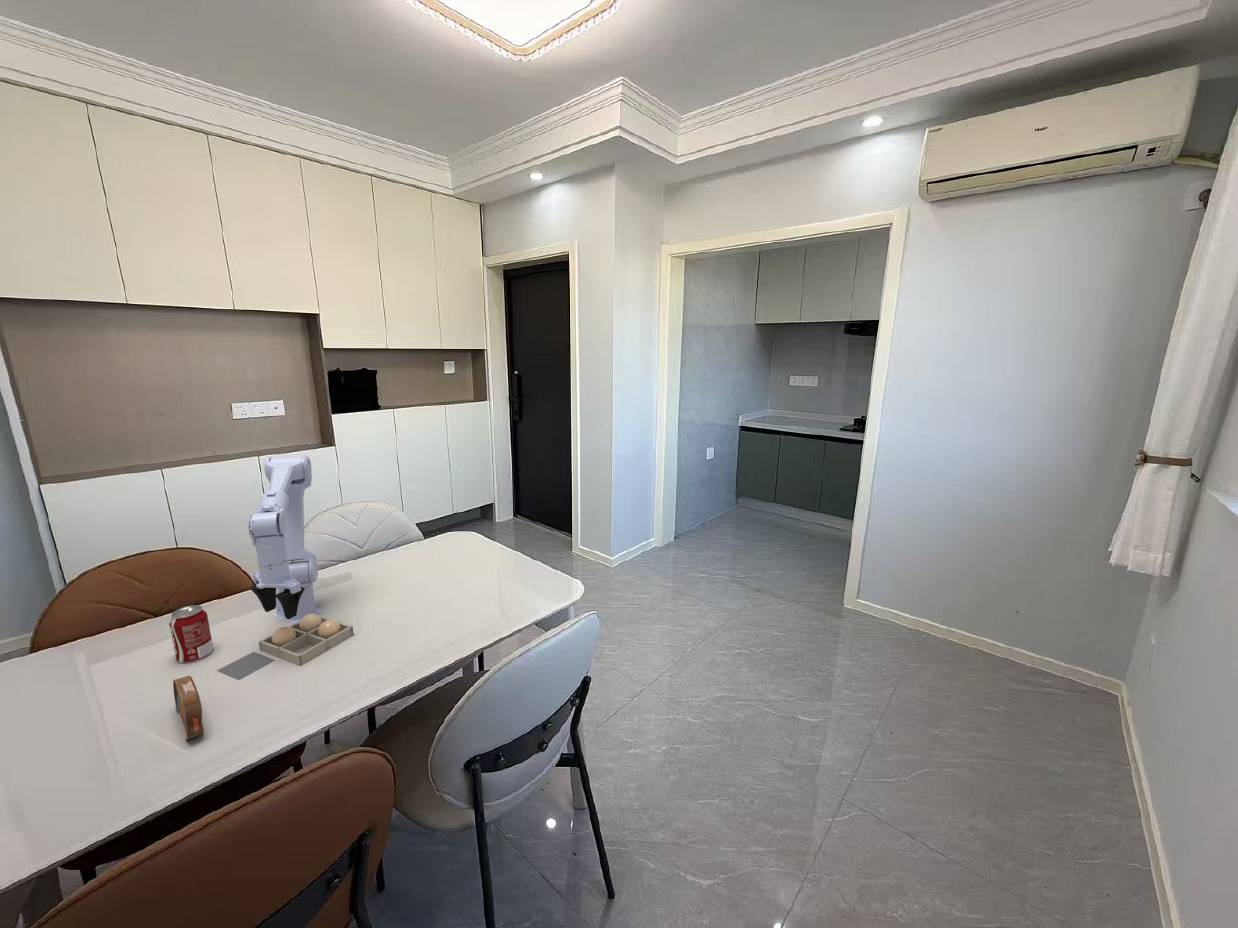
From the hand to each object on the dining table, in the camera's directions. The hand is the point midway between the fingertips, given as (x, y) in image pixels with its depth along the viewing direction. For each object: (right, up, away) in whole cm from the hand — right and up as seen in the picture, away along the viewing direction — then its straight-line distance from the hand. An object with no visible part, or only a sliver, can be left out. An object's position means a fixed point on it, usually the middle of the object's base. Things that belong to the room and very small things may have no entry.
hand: (280, 613), depth 120 cm
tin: (-2, -15, -23) cm, 27 cm away
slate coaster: (-4, -11, -5) cm, 13 cm away
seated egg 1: (+3, -7, +8) cm, 11 cm away
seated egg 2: (+9, -8, +5) cm, 13 cm away
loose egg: (0, -9, +2) cm, 9 cm away
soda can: (-19, -10, -2) cm, 21 cm away
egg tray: (+4, -9, +4) cm, 11 cm away
